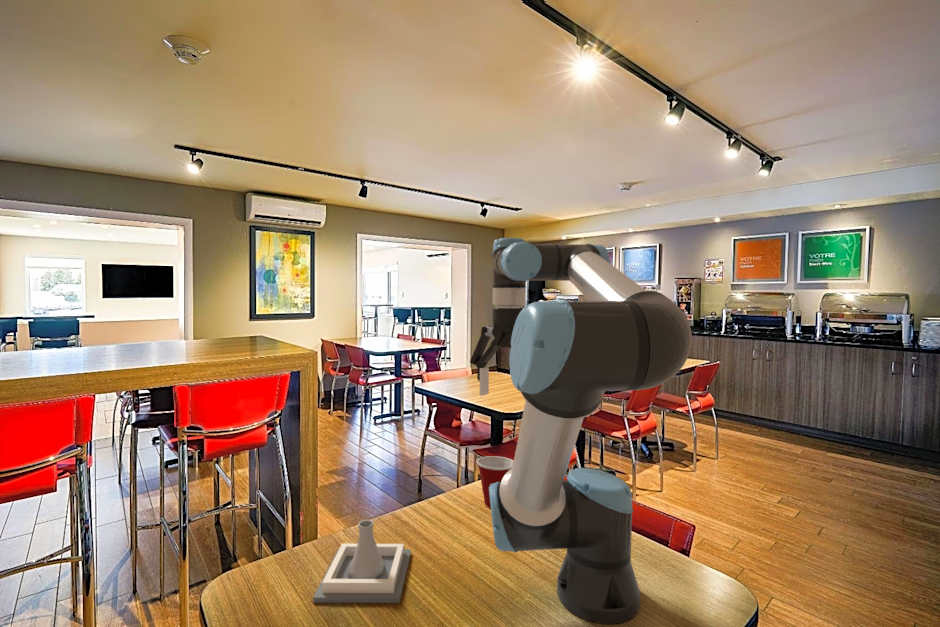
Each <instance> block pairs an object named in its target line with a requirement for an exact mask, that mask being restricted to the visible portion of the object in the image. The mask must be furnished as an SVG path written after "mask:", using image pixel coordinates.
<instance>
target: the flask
mask: <svg viewBox="0 0 940 627" xmlns="http://www.w3.org/2000/svg"><path fill="white" fill-rule="evenodd" d="M374 524H375V521H374V520H372V519H362V520H361V521H358V523H357V528H358V530H359V534H358V542H357V543H356V544H357V548H356V551H355V554H354V557H353V560H352V563H351V566H350V569H349V574H348V577H351V578H353V579H375V578H377V577H378V576H379V575H380V574H382V573H383V570H384V562H383V560H382V557H381V555H380V553H379V550H378V548H377V545H376V544H377V542H376V540H375V537H374V536H375V535H374V532H373V530H374V529H373V527H374Z"/></svg>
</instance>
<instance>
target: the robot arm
mask: <svg viewBox="0 0 940 627" xmlns="http://www.w3.org/2000/svg"><path fill="white" fill-rule="evenodd" d="M492 245H493V247H492V253H491V256H492V305H493V306H495V307H493V309H492V323H493V327H492V326H490V325H487V326H482V327H481V329H480V337H479V339H478V342H477V344H476V346H475V349H474V351H473V354H472V355H471V358H470V361H469V363H470V364H471V365H473V366H475V367H476V368H477V369H476V370H477V371H476V372H477V374H476V379H477V381H479V396H481V397H483V396H486V395H489V393H490V391H489V390H490V389H489V385H490V384H489V383H490V381H489V380H490V376H489V375H490V374H489V373H490V370H489V368H490V367H489V366H488V363H489V362H490V360H491V359H492V358H493V357H494V356H495V354H496V353H497V351H498V350H499V349H500V348H508V349H510V350H509V356H508V357H509V359H508V360H509V363H508V364H509V373H510V374H509V375H510V378H511V382H512V385H513V386H514V388H515V389H516V390H518V391H519V392H520V394H521V396H522V397H523V399H524V400H525V402H524V406H523V407H524V408H523V412H522V418H521V423H520V428H519V432H518V437H517V442H516V448H515V452H514V457H513V460H514V462H513V468H512V469H510V470H509V471H508V472H507V473H506V474H505V475H504V477H503V479H502V481H501V482H496V483H493V484H491V485H490V486H489V496H490V505H491V509H490V513H491V521H492V522H491V523H492V531H493V539H494V540H493V541H494V545H495V547H496V548H497V550H499V551H501V552H512V553H518V552H526V551H527V552H529V551H543V550H545V551H546V550H562V549H566V554H565V555H564V558H563V561H562V564H561V566H560V570H559V572H558V575H557V579H556V592H557V593H556V594H557V597H558V599H559V601H560V603H561V604H562V605H563V607H564V608H565V609H567V610H568V611H569V612H570V613H572V614H573V615H575V616H577V617H579V618H581V619H583V620H586V621H589V620H590V622H592V621H594V622H593V623H596V622H600V623H599V624H603V623H611V624H610V625H613V624H612V623H615V624H619V623H625V622H628V621H629V620H631V619H633V618H634V617H635V616H636V615H637V614H638V613H639V610H640V606H641V605H640V602H641V591H640V587H639V584H638V581H637V577H636V574H635V570H634V568H633V564H632V561H631V559H632V558H631V556H632V555H631V553H632V530H633V528H632V527H633V526H632V525H633V524H632V523H633V511H634V507H633V497H632V494H633V493H632V491H631V490H632V489H631V488H630V486H629V485H628V484H627V483H626V482H625V481H624V480H623V479H622V478H620V477H618V476H617V475H616V474H612V473H610V472H607V471H604V470H600V469H595V468H586V467H578V468H574V469H571V470H569V472H568V474H567V470H568V469H569V464H570V462H571V458H572V455H573V453H574V449H575V446H576V444H577V441H578V436H579V435H580V434H579V433H580V430H581V428H582V424H583V423H584V422H583V421H584V418H586V417H588V416H590V415H592V414H593V413H594V412H596V410H598V408H599V406H601V403H602V400H603V397H604V396H605V392H616V391H620V392H621V391H642V390H643V391H644V390H648V389H652V388H653V389H654V388H656V387H658V386H661V385H663V384H665V383H667V382H668V381H669V380H671V379H672V378H674V376H676V375H677V374H679V372H680V371H681V370H682V368H683V367H684V366H685V364H686V362H687V360H688V358H689V356H690V353H691V349H692V343H693V335H692V329H691V324H690V322H689V319H688V317H687V316H686V314H685V313H684V311H683V309H682V308H681V307H680V306H678V305H677V304H676V303H675V302H674V301H672V300H671V298H669V297H667V296H666V295H665V294H663V293H661V292H659V291H655V290H650V289H649V290H647V289H645V288H643V287H642V286H641V285H639V284H638V283H637V282H635V281H634V280H633V279H632V278H630V277H629V276H627V275H626V274H625V273H623V272H622V271H621V270H619V269H618V268H617V267H616V266H615V265H613V264H611V263H610V262H611V261H610V255H609V252H608V249H607V247H605V246H604V245H602V244H592V243H584V244H583V243H582V244H580V243H579V244H574V243H573V244H572V243H569V244H565V243H564V244H563V243H562V244H561V243H560V244H559V243H558V244H554V243H530V242H526V240H525V239H523V238H519V237H501V238H496V239H494V241H493V244H492ZM527 281H555V282H556V281H559V282H561V281H562V282H563V281H566V282H567V281H568V282H570V283H571V284H572V285H574V287H575V288H576V289H577V290H578V291H579V292H580V293H581V294H582V295H583V297H584V298H585V299H586V301H585V300H584V301H583V300H581V301H577V300H576V301H572V300H571V301H566V300H564V299H559V298H558V299H557V298H556V299H551V300H547V301H546V300H545V301H533V302H532V303H528V304H526V296H527V292H526V290H527V289H526V287H527V285H526V282H527ZM492 336H493V338H494V339H493V340H492V341H491V343H490V345H489V347H488V348H487V346H488V344H489V341H490V339H491V337H492ZM486 348H487V349H486ZM566 475H567V476H566ZM565 477H566V480H565Z"/></svg>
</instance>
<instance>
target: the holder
mask: <svg viewBox="0 0 940 627" xmlns="http://www.w3.org/2000/svg"><path fill="white" fill-rule="evenodd" d="M357 544H358V543H348V542H347V543H345V542H343V543H341V545H340V547H339V548H338V549H337V550H336V551H335V554H334V556H333V557H332V559H331V561H330V564H329V566H328V567H327V569H326V570H325V574H324V576H323V578H322V579H321V581H320V583H319V585H318V587H317V588H316V591H315V593H314V595H313V597H312V600H313V602H312V603H313V604H315V603H316V604H318V603H320V604H321V603H322V604H323V603H324V604H325V603H327V604H328V603H329V604H330V603H331V604H334V603H335V604H337V603H338V604H400V602H401V599H402V594H403V589H404V585H405V580H406V577H407V576H406V575H407V573H408V567H409V564H410V558H411V554H412V551H411V549H410V548H408V549H407V548H406V549H405V544H404V543H376V545H377V548H378V550H379V553H380V555H381V557H382V560H383V562H384V570H383V573H382V574H380V575H379V576H378V577H377V578H375V579H353V578H351V577H348V574H349V569H350V566H351V563H352V560H353V557H354V554H355V551H356V548H357Z"/></svg>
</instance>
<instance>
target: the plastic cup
mask: <svg viewBox="0 0 940 627" xmlns="http://www.w3.org/2000/svg"><path fill="white" fill-rule="evenodd" d="M513 462H514V459H512V458H508V457H506V456H496V455H494V456H492V455H491V456H489V455H488V456H487V455H486V456H482V457H479V458H477V459H476V465H477V467H478V471H479V476H480V477H479V478H480V483H481V489H482V494H483V502H484V504H485V506H486V505H487V506H488V507H490V508H491V505H490V496H489V486H490V485H491V484H493V483H496V482H501V481H502V479H503V477H504V475H505V474H506V473H507V472H508V471H509V470H510V469H512V468H513ZM487 506H486V507H487ZM488 507H487V508H488ZM490 508H489V509H490Z"/></svg>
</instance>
